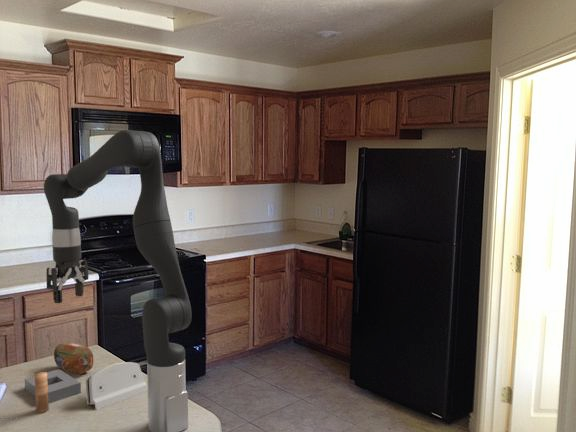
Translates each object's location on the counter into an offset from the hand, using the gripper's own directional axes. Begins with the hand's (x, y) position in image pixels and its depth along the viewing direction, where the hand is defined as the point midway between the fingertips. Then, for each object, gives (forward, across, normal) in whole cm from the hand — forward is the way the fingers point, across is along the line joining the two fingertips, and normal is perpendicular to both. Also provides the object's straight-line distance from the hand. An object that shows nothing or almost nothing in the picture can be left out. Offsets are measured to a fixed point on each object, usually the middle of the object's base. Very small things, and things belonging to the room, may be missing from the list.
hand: (69, 299), depth 153 cm
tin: (+26, +10, +8) cm, 29 cm away
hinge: (+27, -1, -16) cm, 31 cm away
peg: (+26, -15, -3) cm, 30 cm away
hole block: (+26, -5, +3) cm, 27 cm away
